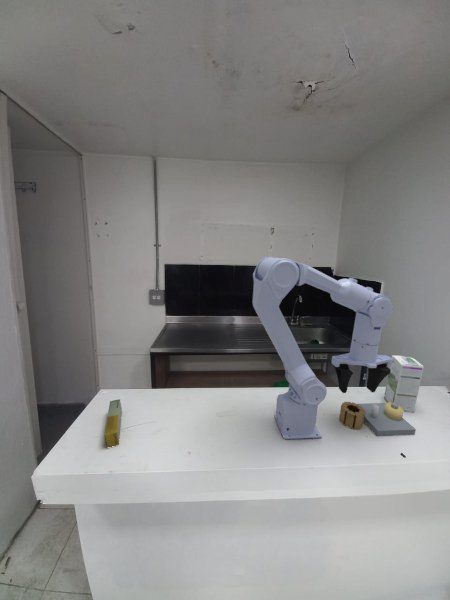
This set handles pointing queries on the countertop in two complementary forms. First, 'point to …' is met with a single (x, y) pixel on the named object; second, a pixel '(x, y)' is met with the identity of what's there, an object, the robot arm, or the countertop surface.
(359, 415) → the brown segmented ring
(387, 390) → the syrup box
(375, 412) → the carrier plate
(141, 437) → the countertop surface
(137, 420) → the countertop surface
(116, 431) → the medication box
